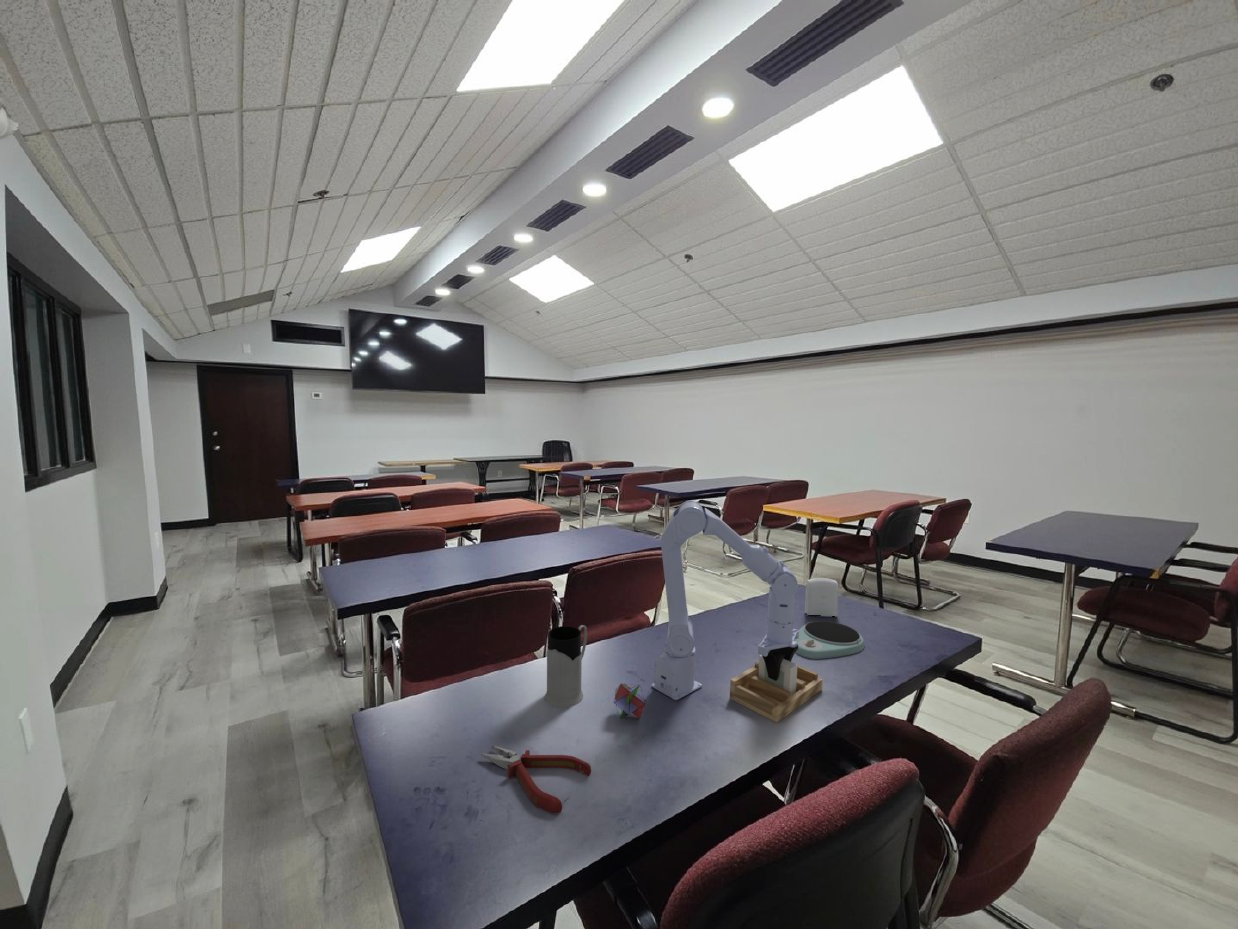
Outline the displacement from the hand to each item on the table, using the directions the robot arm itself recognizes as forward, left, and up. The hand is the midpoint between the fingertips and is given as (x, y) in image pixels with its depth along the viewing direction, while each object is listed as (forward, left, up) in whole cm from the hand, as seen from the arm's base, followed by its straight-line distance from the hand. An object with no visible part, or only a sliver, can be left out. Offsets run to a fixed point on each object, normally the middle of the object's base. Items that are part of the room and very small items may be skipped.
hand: (777, 675), depth 114 cm
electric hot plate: (+35, +5, -5) cm, 35 cm away
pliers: (-56, +14, -5) cm, 58 cm away
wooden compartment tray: (0, 0, -4) cm, 4 cm away
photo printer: (+54, +16, -5) cm, 57 cm away
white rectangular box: (0, 0, -3) cm, 3 cm away
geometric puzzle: (-32, +16, -5) cm, 36 cm away
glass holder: (-36, +32, -5) cm, 48 cm away
